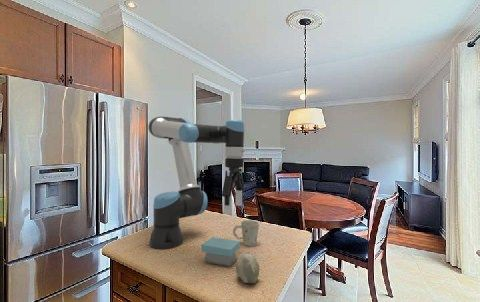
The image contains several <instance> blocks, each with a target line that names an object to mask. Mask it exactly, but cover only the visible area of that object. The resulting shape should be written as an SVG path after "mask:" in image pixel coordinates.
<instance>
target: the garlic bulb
mask: <svg viewBox="0 0 480 302" xmlns="http://www.w3.org/2000/svg"><path fill="white" fill-rule="evenodd" d="M235 261H236V262H235V271H236V274H237V275H238V277H239V278H240V281H242V282H243V283H245V284H255V283H256V282H258V281H259V278H258V277H259V275H260V264H259V262H258V260H257V258H256V257H255V255H253V254H249V253H241V254H240V255H239V256H238V258H237V260H235Z"/></svg>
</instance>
